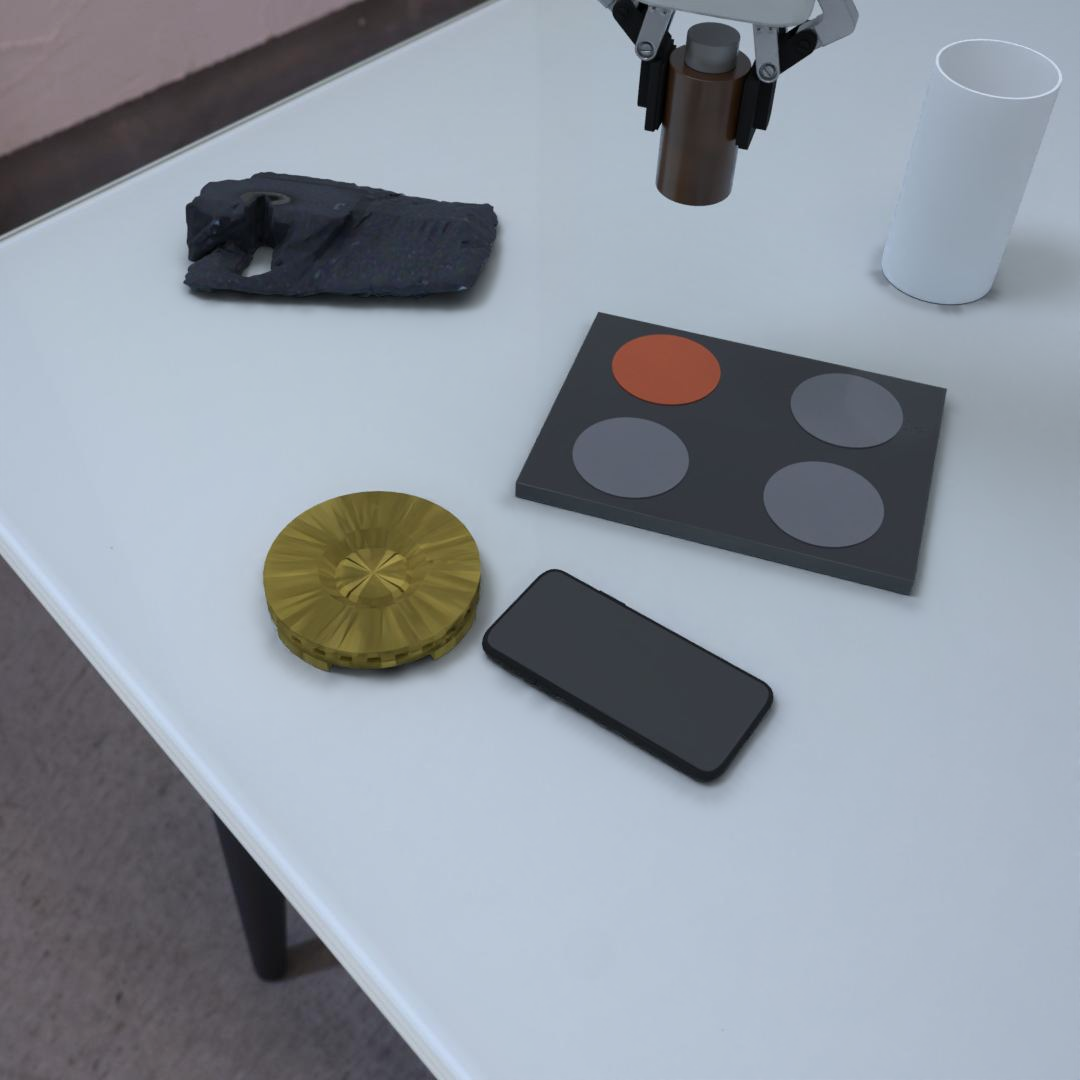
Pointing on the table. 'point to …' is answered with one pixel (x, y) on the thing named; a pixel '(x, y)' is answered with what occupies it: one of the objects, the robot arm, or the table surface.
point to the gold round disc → (372, 581)
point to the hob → (742, 450)
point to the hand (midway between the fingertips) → (701, 125)
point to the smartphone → (630, 673)
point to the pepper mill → (702, 116)
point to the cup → (968, 168)
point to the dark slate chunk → (333, 238)
